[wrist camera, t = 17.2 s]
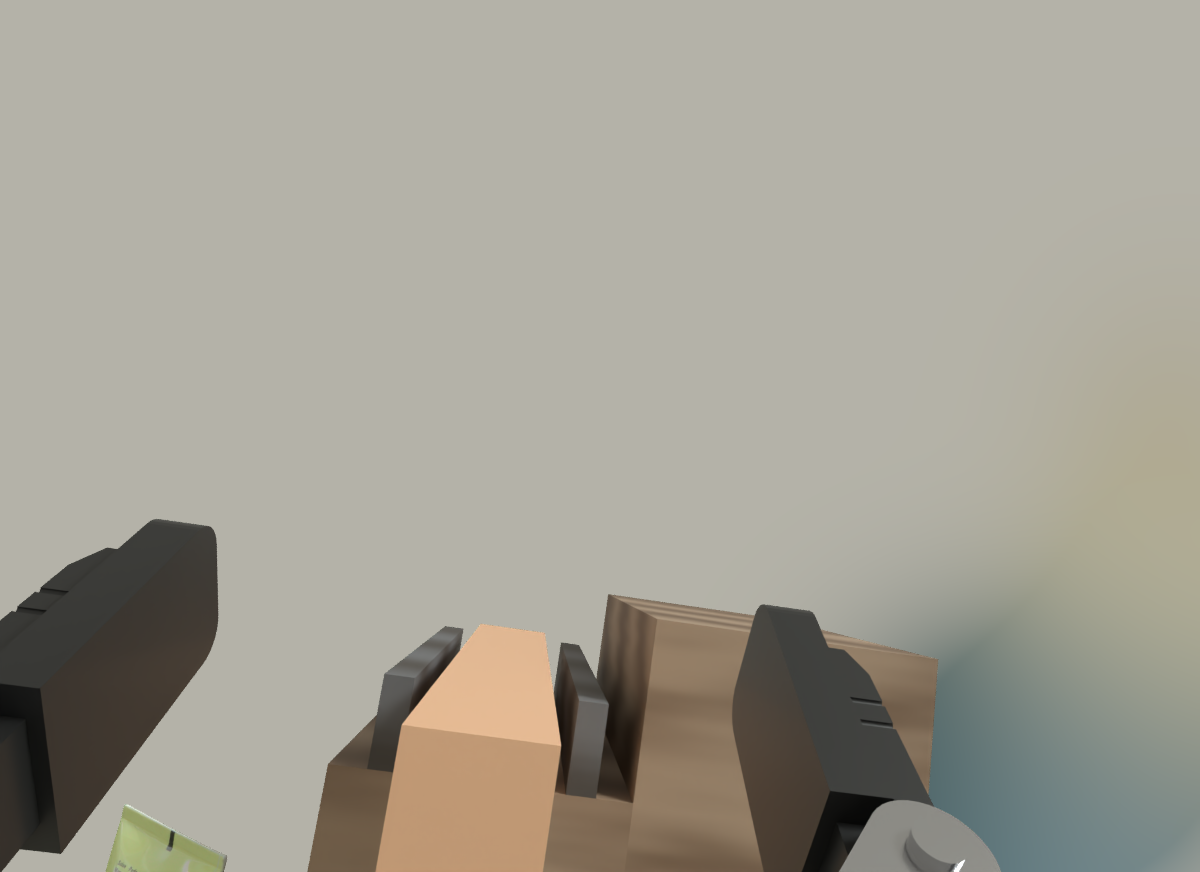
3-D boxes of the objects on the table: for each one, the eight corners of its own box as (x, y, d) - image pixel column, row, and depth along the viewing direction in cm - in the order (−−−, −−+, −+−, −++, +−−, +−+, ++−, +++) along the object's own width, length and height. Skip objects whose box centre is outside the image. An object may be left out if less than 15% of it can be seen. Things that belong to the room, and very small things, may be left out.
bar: (535, 917, 17) (561, 746, 17) (370, 898, 16) (401, 725, 17) (534, 699, 42) (544, 632, 43) (469, 690, 42) (480, 623, 43)
